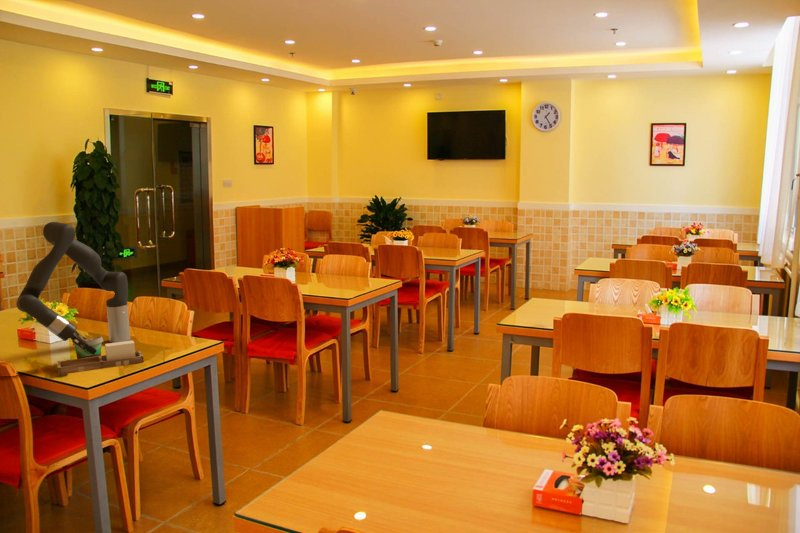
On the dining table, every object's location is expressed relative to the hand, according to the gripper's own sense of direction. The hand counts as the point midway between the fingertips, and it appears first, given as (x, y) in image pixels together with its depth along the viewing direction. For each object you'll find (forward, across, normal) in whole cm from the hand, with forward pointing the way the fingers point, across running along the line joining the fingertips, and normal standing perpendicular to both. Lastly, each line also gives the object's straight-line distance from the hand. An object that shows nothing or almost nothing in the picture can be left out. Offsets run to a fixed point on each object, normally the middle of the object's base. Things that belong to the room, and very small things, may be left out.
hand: (94, 350), depth 293 cm
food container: (+2, 0, +4) cm, 5 cm away
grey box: (+9, -12, -4) cm, 15 cm away
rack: (+4, -11, +2) cm, 12 cm away
